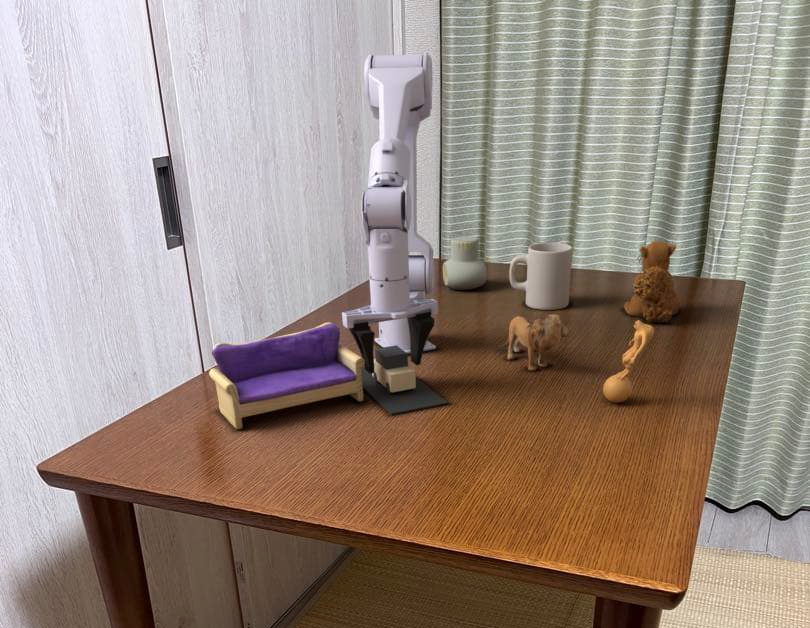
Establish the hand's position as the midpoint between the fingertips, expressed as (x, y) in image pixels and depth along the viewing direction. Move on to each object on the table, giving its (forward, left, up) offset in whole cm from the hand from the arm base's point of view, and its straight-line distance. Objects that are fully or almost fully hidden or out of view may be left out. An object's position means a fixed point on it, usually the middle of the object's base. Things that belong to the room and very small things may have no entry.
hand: (392, 367), depth 124 cm
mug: (-29, +43, -4) cm, 52 cm away
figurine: (+21, +27, -4) cm, 35 cm away
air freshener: (-48, +36, -4) cm, 60 cm away
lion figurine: (0, +24, -4) cm, 25 cm away
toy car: (0, 0, -3) cm, 3 cm away
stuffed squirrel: (-11, +57, -4) cm, 59 cm away
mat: (0, 0, -3) cm, 3 cm away
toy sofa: (0, -17, -4) cm, 17 cm away
